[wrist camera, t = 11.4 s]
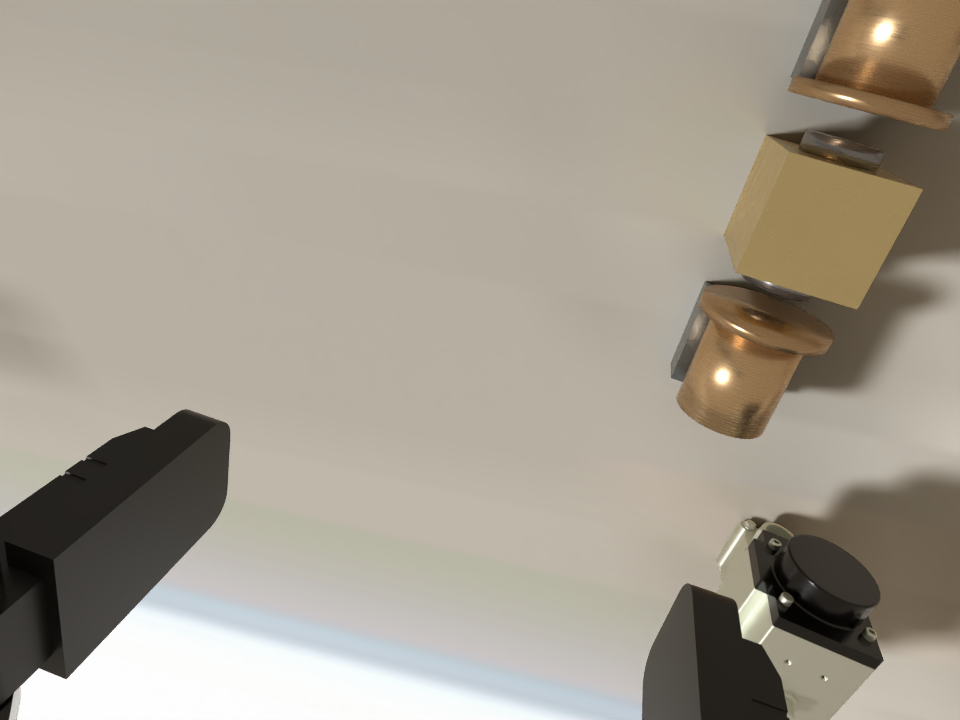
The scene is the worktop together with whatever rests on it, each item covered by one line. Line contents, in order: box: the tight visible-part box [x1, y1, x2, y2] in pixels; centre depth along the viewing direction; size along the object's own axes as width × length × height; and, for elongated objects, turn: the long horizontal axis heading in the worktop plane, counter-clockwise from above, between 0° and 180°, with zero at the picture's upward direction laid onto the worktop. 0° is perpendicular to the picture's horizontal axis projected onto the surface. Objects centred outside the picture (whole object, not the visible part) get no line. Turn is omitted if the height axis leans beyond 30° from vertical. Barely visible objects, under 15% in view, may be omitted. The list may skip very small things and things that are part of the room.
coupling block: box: [724, 129, 923, 310], centre depth 29 cm, size 7×5×7 cm
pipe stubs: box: [671, 0, 960, 439], centre depth 29 cm, size 6×20×7 cm, turn 167°
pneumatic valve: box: [717, 520, 884, 720], centre depth 35 cm, size 6×12×12 cm, turn 163°
